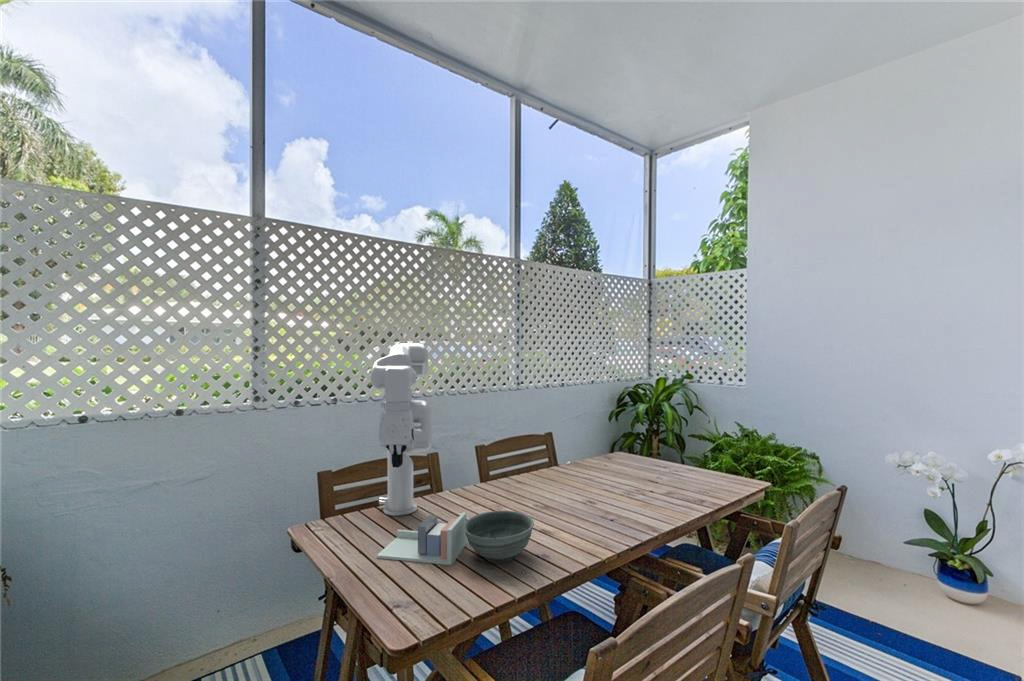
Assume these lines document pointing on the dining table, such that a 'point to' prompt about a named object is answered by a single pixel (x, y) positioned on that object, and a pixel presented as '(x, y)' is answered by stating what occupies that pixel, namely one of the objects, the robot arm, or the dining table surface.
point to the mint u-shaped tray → (408, 551)
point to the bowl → (499, 534)
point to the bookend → (425, 533)
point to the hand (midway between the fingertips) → (397, 466)
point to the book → (434, 541)
